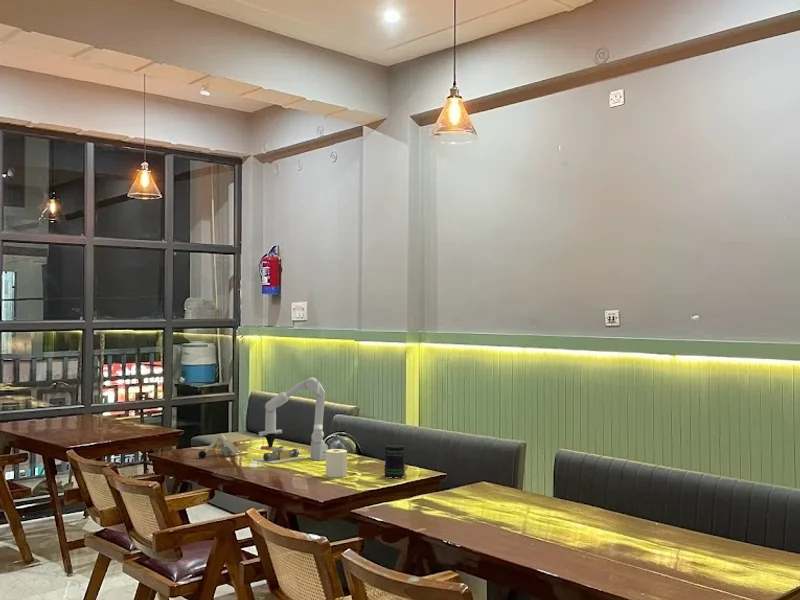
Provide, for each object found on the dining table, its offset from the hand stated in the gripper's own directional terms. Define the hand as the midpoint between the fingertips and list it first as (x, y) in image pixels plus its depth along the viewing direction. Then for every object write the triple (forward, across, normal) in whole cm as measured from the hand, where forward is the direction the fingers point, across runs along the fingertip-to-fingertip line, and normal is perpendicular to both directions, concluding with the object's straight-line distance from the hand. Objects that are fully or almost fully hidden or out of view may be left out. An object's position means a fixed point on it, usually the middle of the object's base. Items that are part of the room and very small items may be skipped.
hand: (270, 447), depth 417 cm
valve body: (+6, -2, +8) cm, 9 cm away
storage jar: (+6, -13, +80) cm, 81 cm away
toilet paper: (+6, +6, +58) cm, 59 cm away
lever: (+1, +1, +3) cm, 3 cm away
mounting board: (+6, -2, +6) cm, 8 cm away
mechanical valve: (+6, +18, -22) cm, 29 cm away
